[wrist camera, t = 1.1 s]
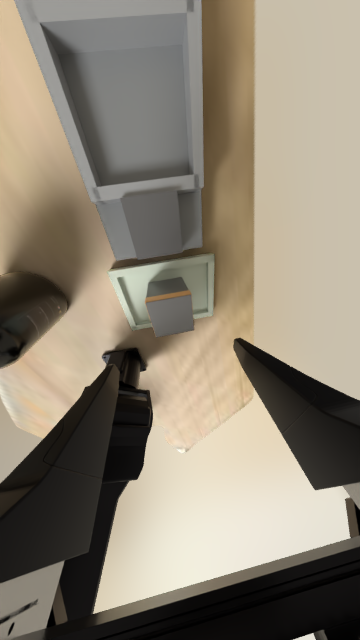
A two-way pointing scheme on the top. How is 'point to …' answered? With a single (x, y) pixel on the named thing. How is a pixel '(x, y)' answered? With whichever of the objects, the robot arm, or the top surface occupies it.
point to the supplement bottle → (26, 313)
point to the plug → (169, 307)
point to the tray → (136, 278)
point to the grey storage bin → (129, 112)
